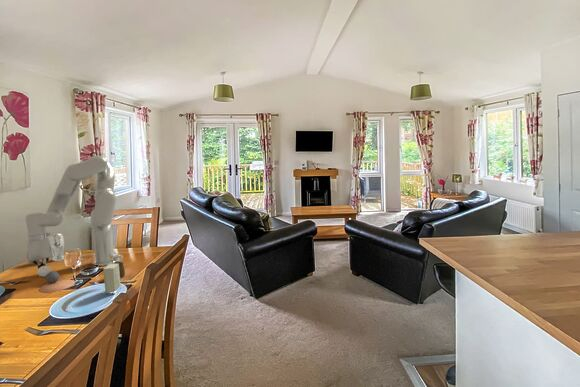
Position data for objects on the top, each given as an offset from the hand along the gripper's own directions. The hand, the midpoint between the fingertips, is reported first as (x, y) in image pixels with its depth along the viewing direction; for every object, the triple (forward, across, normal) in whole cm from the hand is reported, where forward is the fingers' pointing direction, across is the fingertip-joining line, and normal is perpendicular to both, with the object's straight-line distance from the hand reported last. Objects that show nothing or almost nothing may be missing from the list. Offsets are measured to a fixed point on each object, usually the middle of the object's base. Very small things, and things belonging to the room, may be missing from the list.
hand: (42, 271), depth 174 cm
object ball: (-1, -1, +18) cm, 18 cm away
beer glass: (+2, -12, -21) cm, 24 cm away
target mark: (+1, -1, +24) cm, 24 cm away
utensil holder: (+2, -24, +34) cm, 42 cm away
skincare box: (+2, -16, +52) cm, 54 cm away
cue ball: (-1, 0, +4) cm, 4 cm away
